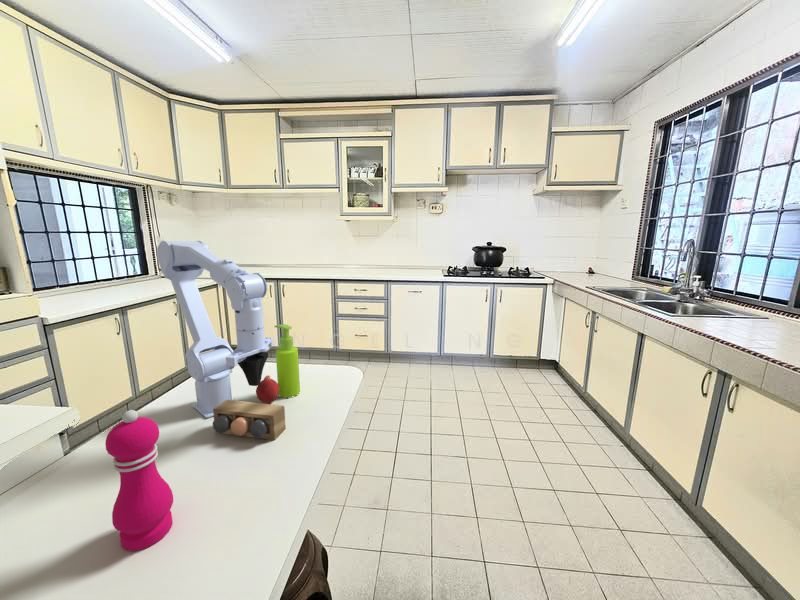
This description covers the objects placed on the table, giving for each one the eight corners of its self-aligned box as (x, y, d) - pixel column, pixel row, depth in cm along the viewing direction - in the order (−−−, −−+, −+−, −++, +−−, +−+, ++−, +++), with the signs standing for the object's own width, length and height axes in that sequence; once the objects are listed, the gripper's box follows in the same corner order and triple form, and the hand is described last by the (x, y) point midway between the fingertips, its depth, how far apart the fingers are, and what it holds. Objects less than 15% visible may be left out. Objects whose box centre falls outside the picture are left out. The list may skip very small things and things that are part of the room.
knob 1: (213, 432, 74) (212, 417, 74) (232, 417, 80) (231, 403, 80) (227, 434, 74) (226, 419, 73) (245, 419, 80) (244, 405, 79)
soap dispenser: (289, 386, 101) (285, 321, 97) (304, 392, 97) (301, 325, 93) (272, 393, 96) (267, 325, 92) (286, 400, 92) (282, 329, 88)
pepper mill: (138, 514, 54) (120, 399, 50) (186, 511, 54) (171, 397, 51) (103, 556, 47) (79, 426, 43) (158, 553, 47) (139, 423, 44)
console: (215, 432, 76) (213, 408, 75) (228, 421, 81) (226, 399, 80) (275, 440, 74) (273, 415, 73) (285, 428, 78) (284, 405, 77)
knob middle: (231, 434, 73) (229, 419, 73) (249, 419, 79) (247, 405, 79) (246, 436, 73) (244, 421, 72) (262, 421, 79) (261, 407, 78)
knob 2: (249, 437, 73) (248, 421, 72) (266, 421, 79) (265, 407, 78) (264, 438, 72) (263, 423, 71) (280, 423, 78) (279, 409, 77)
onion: (272, 410, 86) (270, 381, 85) (252, 408, 87) (250, 379, 86) (284, 399, 92) (282, 372, 90) (265, 397, 93) (263, 370, 92)
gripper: (245, 338, 67) (250, 400, 70) (283, 321, 81) (286, 373, 84) (214, 336, 69) (220, 397, 71) (257, 319, 83) (261, 371, 85)
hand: (254, 384), depth 77 cm, fingers closed
